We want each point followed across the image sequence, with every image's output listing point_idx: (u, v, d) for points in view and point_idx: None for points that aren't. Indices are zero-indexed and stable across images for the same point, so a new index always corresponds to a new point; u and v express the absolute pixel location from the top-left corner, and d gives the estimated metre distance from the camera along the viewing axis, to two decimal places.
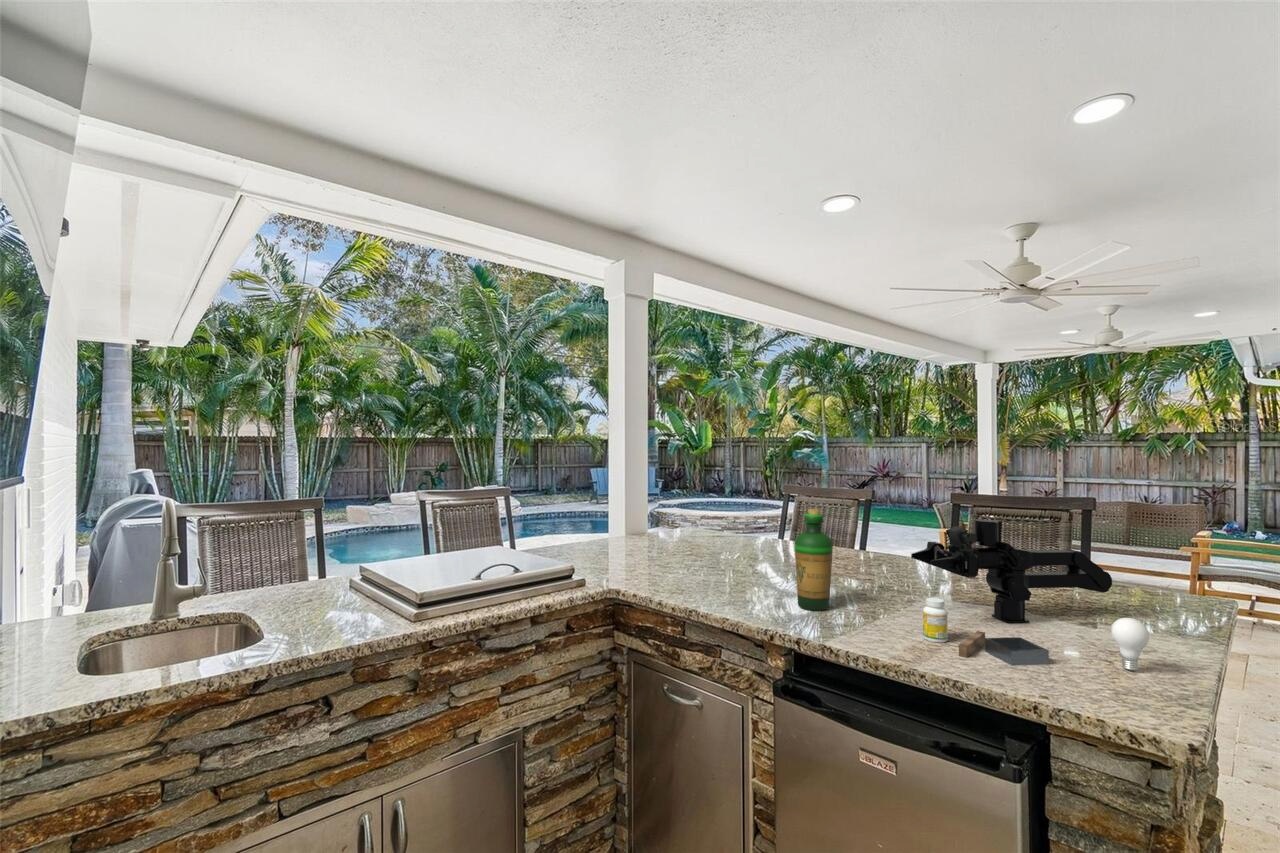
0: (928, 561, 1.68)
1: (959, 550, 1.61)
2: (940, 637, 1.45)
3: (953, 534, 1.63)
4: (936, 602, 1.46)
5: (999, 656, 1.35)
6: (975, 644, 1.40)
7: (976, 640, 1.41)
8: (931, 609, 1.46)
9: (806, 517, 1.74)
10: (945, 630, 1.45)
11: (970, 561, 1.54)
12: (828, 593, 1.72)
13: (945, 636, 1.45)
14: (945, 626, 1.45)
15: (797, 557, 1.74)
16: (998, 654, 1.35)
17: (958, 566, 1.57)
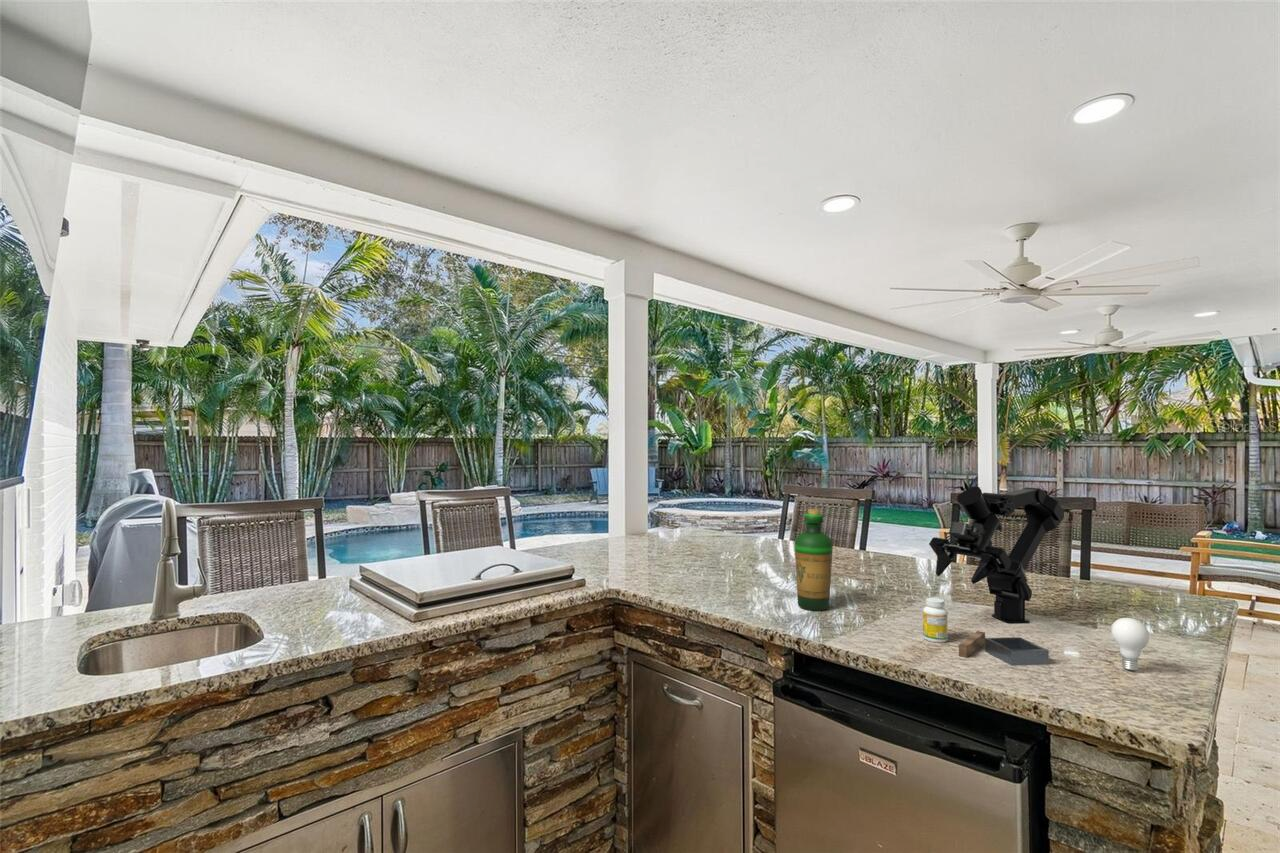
0: (947, 563, 1.59)
1: (974, 544, 1.53)
2: (940, 637, 1.45)
3: (959, 534, 1.53)
4: (936, 602, 1.46)
5: (999, 656, 1.35)
6: (975, 644, 1.40)
7: (976, 640, 1.41)
8: (931, 609, 1.46)
9: (806, 517, 1.74)
10: (945, 630, 1.45)
11: (1003, 558, 1.47)
12: (828, 593, 1.72)
13: (945, 636, 1.45)
14: (945, 626, 1.45)
15: (797, 557, 1.74)
16: (998, 654, 1.35)
17: (991, 565, 1.49)
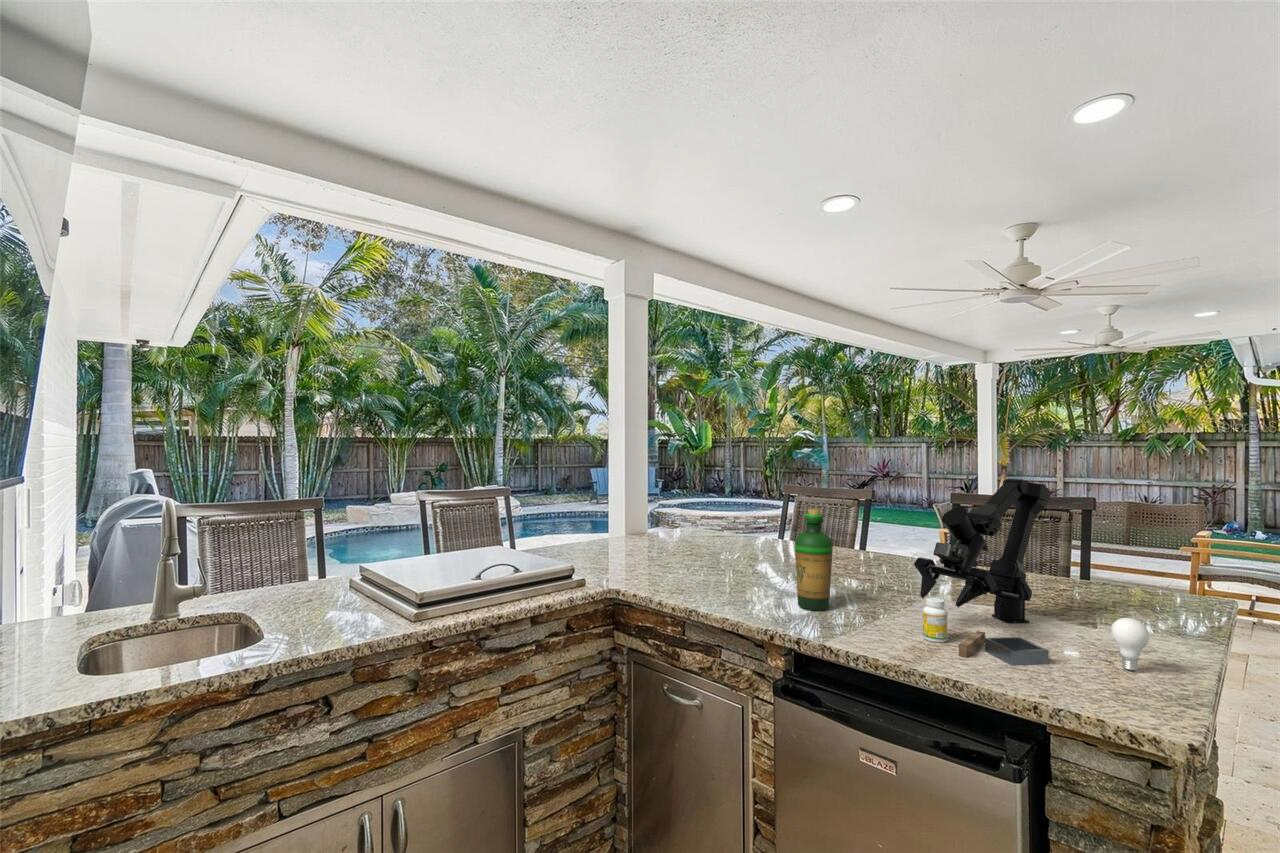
0: (932, 585, 1.55)
1: (959, 565, 1.49)
2: (940, 637, 1.45)
3: (943, 555, 1.49)
4: (936, 602, 1.46)
5: (999, 656, 1.35)
6: (975, 644, 1.40)
7: (976, 640, 1.41)
8: (931, 609, 1.46)
9: (806, 517, 1.74)
10: (945, 630, 1.45)
11: (988, 581, 1.43)
12: (828, 593, 1.72)
13: (945, 636, 1.45)
14: (945, 626, 1.45)
15: (797, 557, 1.74)
16: (998, 654, 1.35)
17: (976, 587, 1.46)
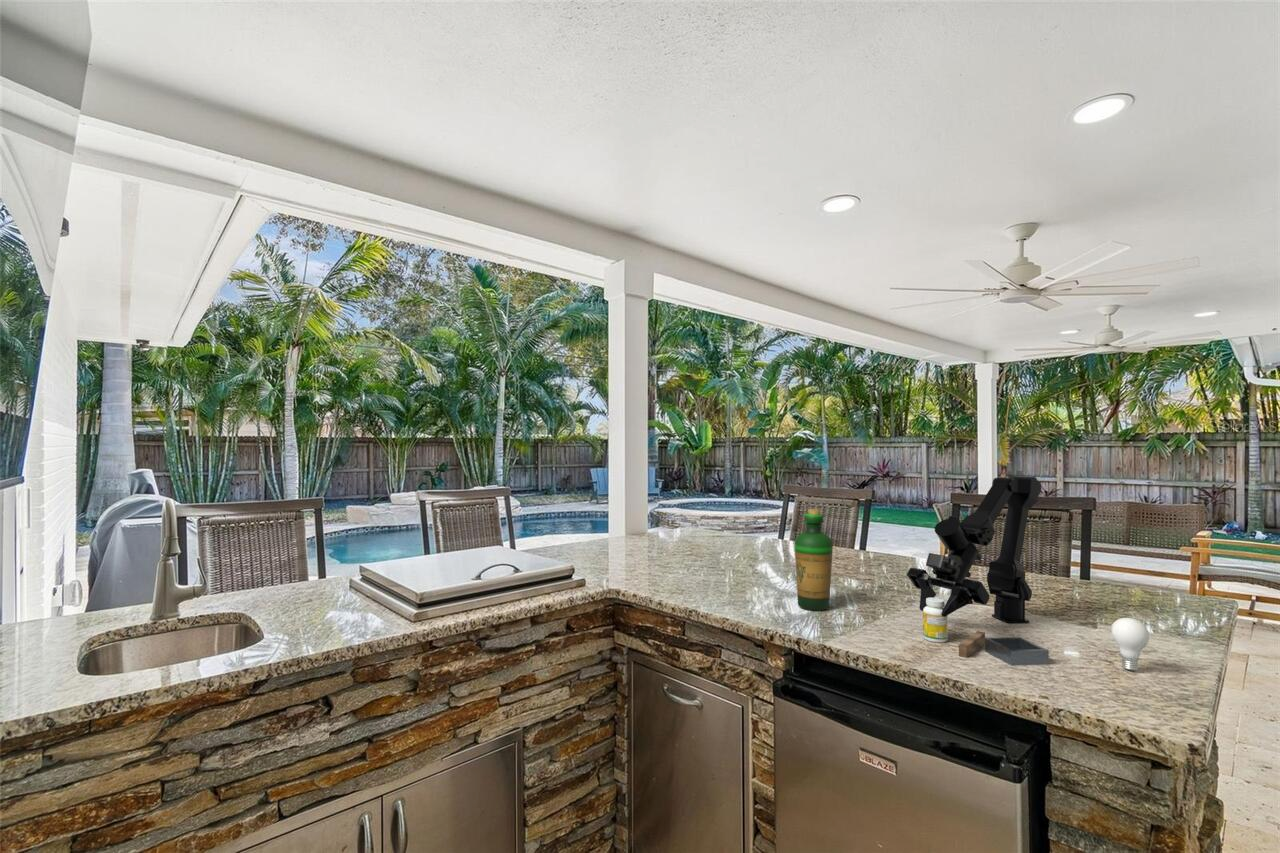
0: (931, 597, 1.52)
1: (951, 576, 1.48)
2: (940, 637, 1.45)
3: (936, 566, 1.48)
4: (936, 602, 1.46)
5: (999, 656, 1.35)
6: (975, 644, 1.40)
7: (976, 640, 1.41)
8: (931, 609, 1.46)
9: (806, 517, 1.74)
10: (945, 630, 1.45)
11: (980, 593, 1.41)
12: (828, 593, 1.72)
13: (945, 636, 1.45)
14: (945, 626, 1.45)
15: (797, 557, 1.74)
16: (998, 654, 1.35)
17: (962, 597, 1.46)
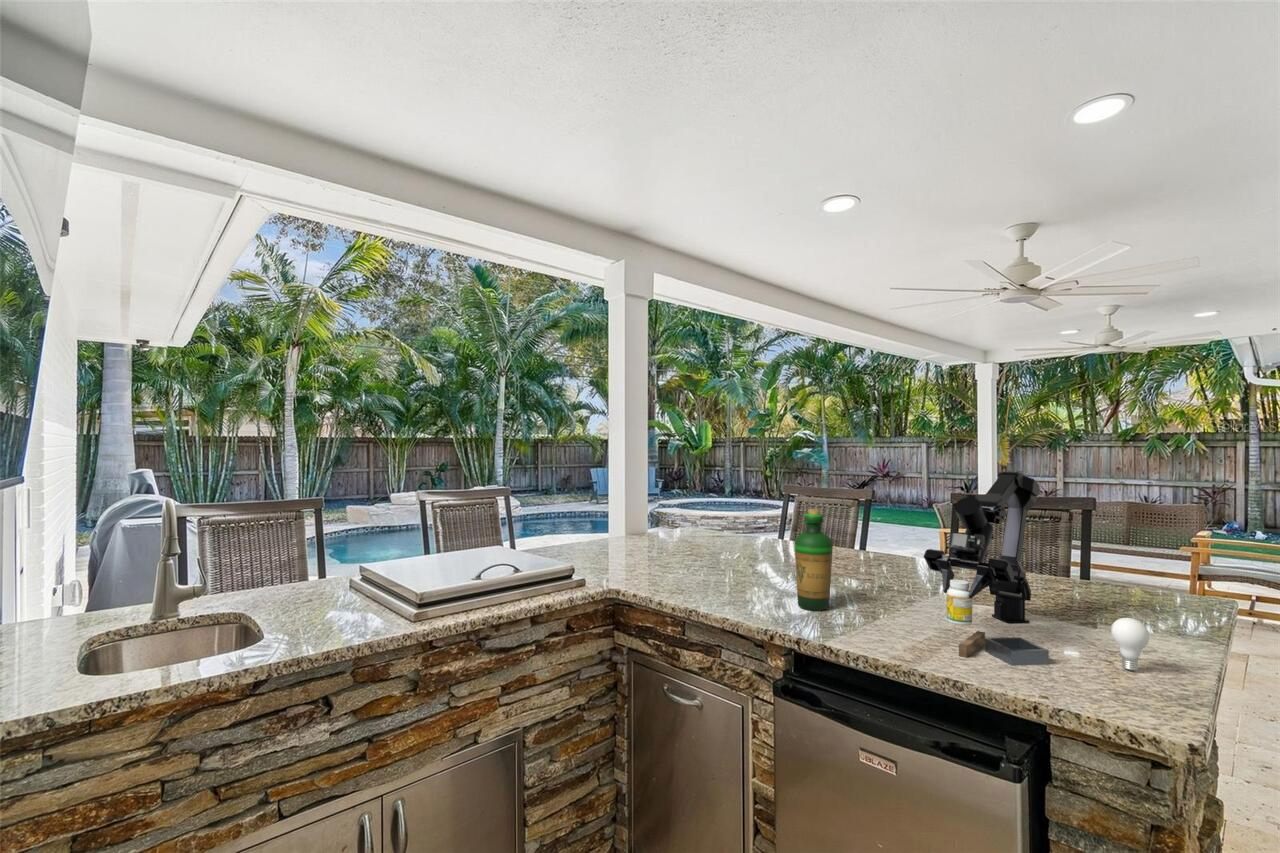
0: (951, 578, 1.48)
1: (974, 556, 1.44)
2: (967, 620, 1.41)
3: (960, 546, 1.43)
4: (962, 584, 1.41)
5: (999, 656, 1.35)
6: (975, 644, 1.40)
7: (976, 640, 1.41)
8: (957, 591, 1.42)
9: (806, 517, 1.74)
10: (971, 612, 1.41)
11: (1008, 571, 1.38)
12: (828, 593, 1.72)
13: (971, 618, 1.41)
14: (971, 608, 1.41)
15: (797, 557, 1.74)
16: (998, 654, 1.35)
17: (986, 577, 1.42)
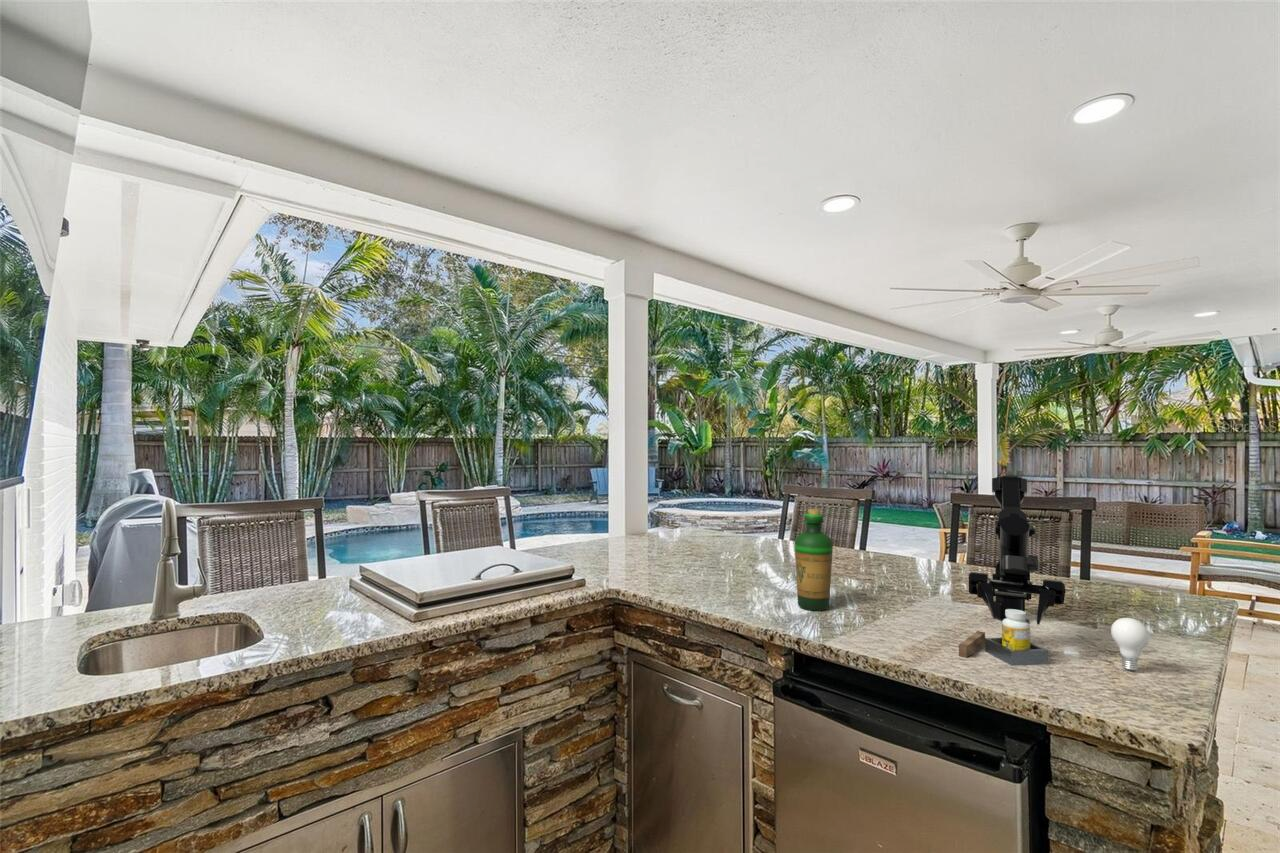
0: None
1: (1025, 578, 1.38)
2: None
3: (1016, 569, 1.36)
4: (1022, 614, 1.34)
5: (999, 656, 1.35)
6: (975, 644, 1.40)
7: (976, 640, 1.41)
8: (1018, 623, 1.34)
9: (806, 517, 1.74)
10: None
11: (1064, 593, 1.34)
12: (828, 593, 1.72)
13: None
14: (1029, 639, 1.35)
15: (797, 557, 1.74)
16: (998, 654, 1.35)
17: None
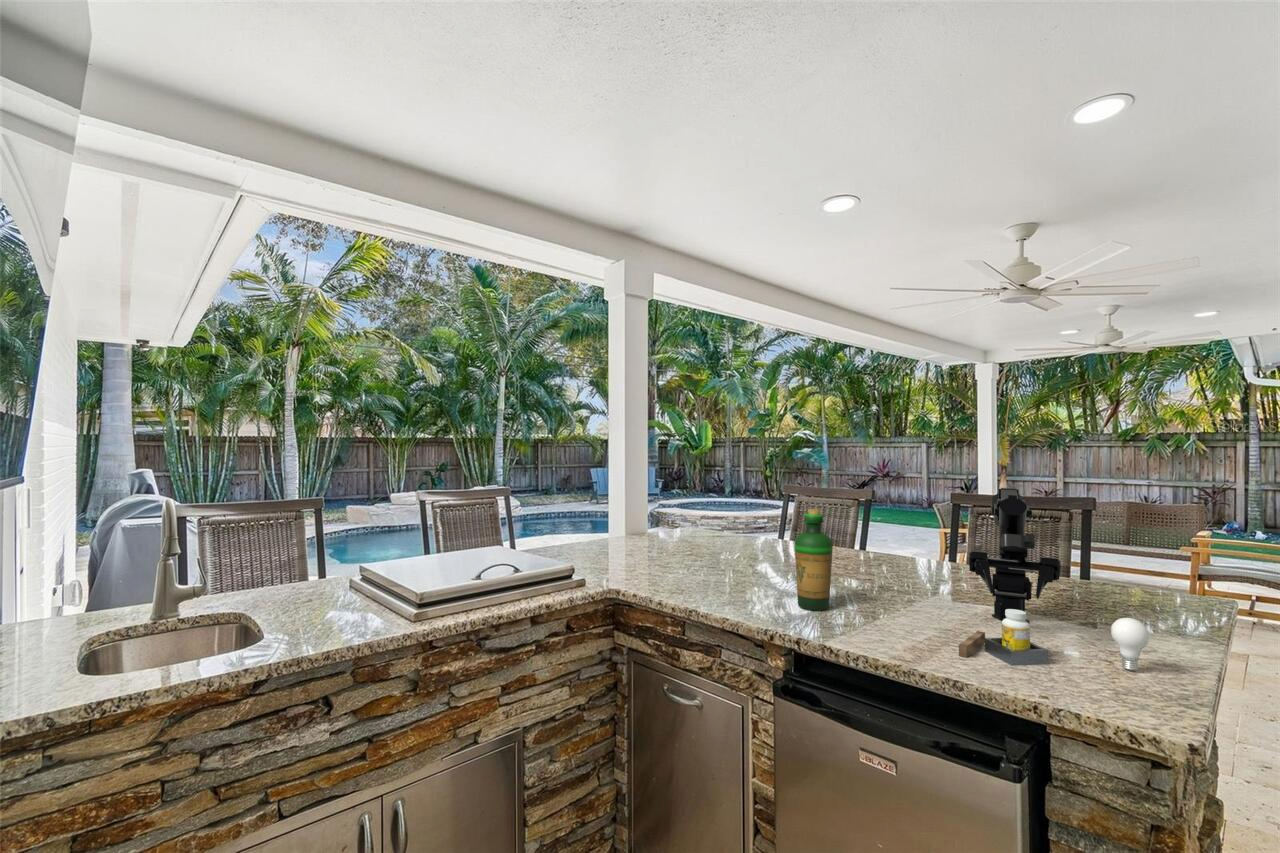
0: None
1: (1023, 555, 1.46)
2: None
3: (1014, 547, 1.44)
4: (1022, 614, 1.34)
5: (999, 656, 1.35)
6: (975, 644, 1.40)
7: (976, 640, 1.41)
8: (1018, 623, 1.34)
9: (806, 517, 1.74)
10: None
11: None
12: (828, 593, 1.72)
13: None
14: (1029, 639, 1.35)
15: (797, 557, 1.74)
16: (998, 654, 1.35)
17: None
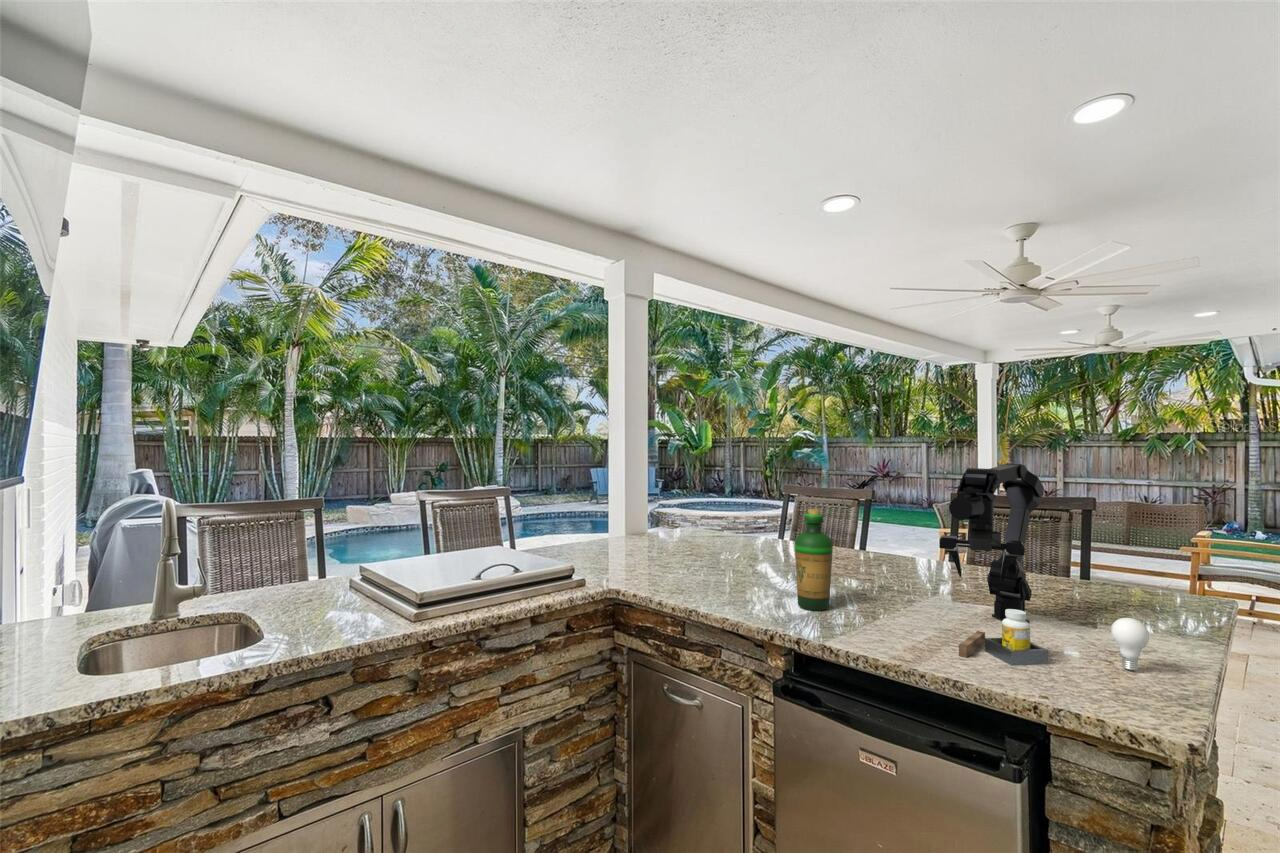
0: (959, 556, 1.59)
1: None
2: None
3: None
4: (1022, 614, 1.34)
5: (999, 656, 1.35)
6: (975, 644, 1.40)
7: (976, 640, 1.41)
8: (1018, 623, 1.34)
9: (806, 517, 1.74)
10: None
11: None
12: (828, 593, 1.72)
13: None
14: (1029, 639, 1.35)
15: (797, 557, 1.74)
16: (998, 654, 1.35)
17: None
